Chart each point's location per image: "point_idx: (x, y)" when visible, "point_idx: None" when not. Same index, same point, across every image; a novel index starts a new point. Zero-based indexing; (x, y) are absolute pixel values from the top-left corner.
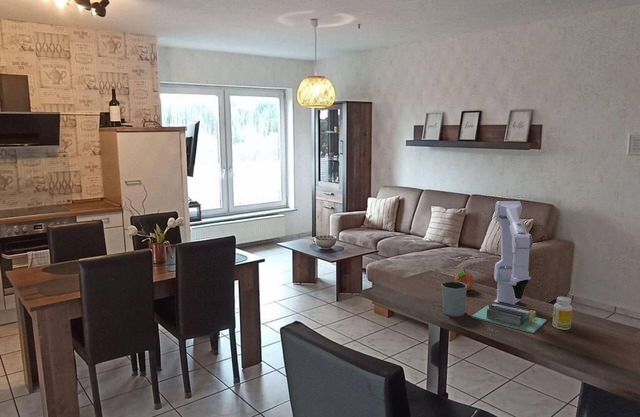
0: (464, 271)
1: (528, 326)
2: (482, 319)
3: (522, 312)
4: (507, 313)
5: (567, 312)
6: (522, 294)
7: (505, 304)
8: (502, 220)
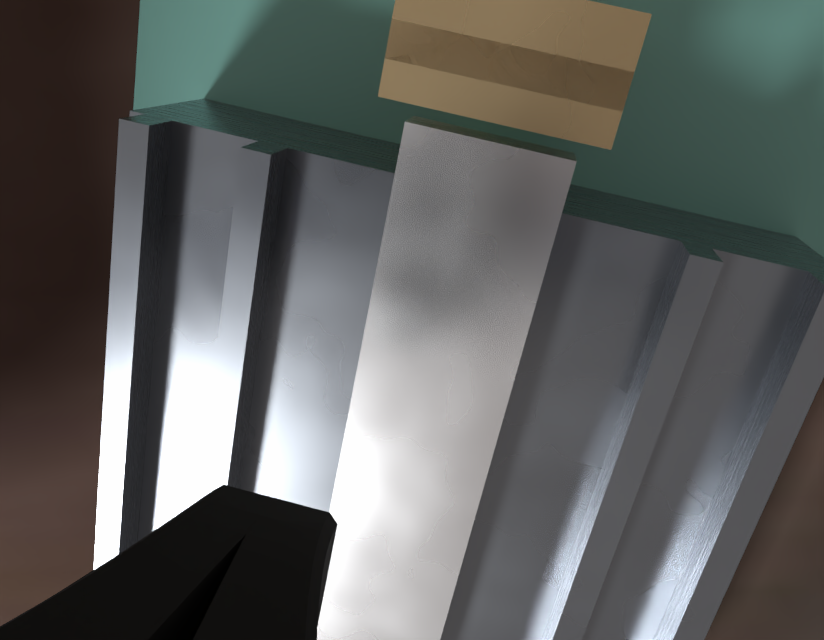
0: None
1: (716, 84)
2: None
3: (537, 284)
4: (714, 566)
5: None
6: (203, 573)
7: None
8: None
